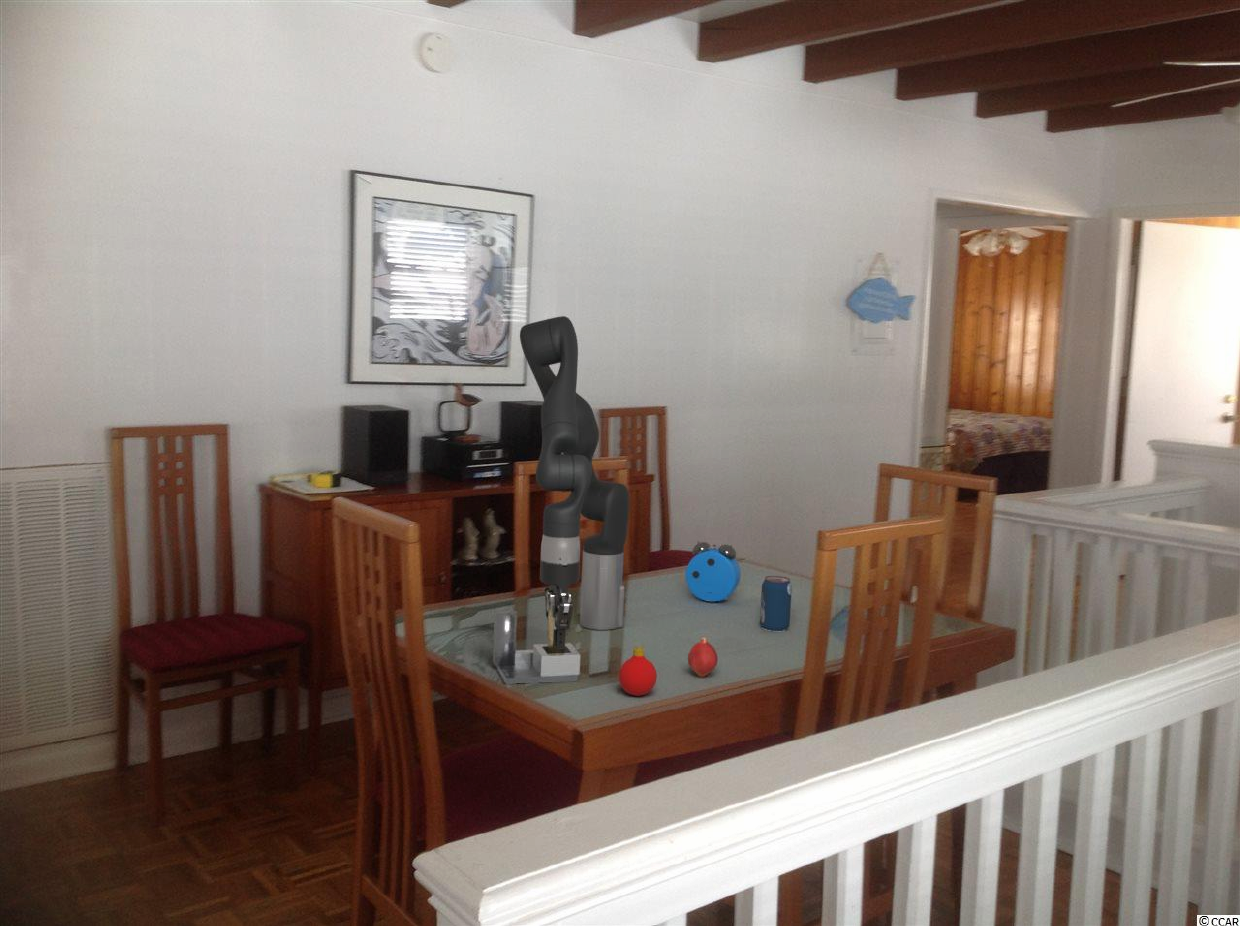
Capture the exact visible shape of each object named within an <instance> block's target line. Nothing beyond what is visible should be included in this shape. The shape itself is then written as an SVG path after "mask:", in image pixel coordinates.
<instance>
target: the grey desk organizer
mask: <svg viewBox="0 0 1240 926" xmlns="http://www.w3.org/2000/svg"><path fill="white" fill-rule="evenodd" d="M493 621H494V622H493V623H494V624H493V647H492V648H493V649H492V650H493V651H492V654H493V655H492V663H493V664H494V667H495V669H496V671H497V672H498V674H499V675H500V678H501V680H503V682H504V684H505V683H506V684H511V683H515V684H514V685H517V684H516V683H532V682H533V683H532V684H537V683H536V682H552V683H569V682H579V676H580V670H581V669H580V668H581V654H580V652H579V651H578V650H577V649H576V648H575V646H574V645H573V644H572V643H571V642H567V643H566V642H565V647H564V653H552V654H548V643H541V644H539V643H538V644H532V649H520V650H519V649H517V632H518V631H517V626H518V623H517V621H518V612H517V611H516V610H512V609H498V610H495V611H494V620H493ZM506 684H505V685H506Z"/></svg>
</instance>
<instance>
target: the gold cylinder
mask: <svg viewBox="0 0 1240 926" xmlns="http://www.w3.org/2000/svg"><path fill="white" fill-rule="evenodd" d="M555 613H558V611H555ZM561 622H563V620H561ZM561 622H560V623H561ZM553 625H554V621H553V617H552V616H551V609H550V610H549V623H548V636H547V638H548V639H547V644H548V654H552V653H564V648H562V649H555V648H554V647H553V632H554V628H553Z"/></svg>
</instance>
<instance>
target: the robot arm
mask: <svg viewBox="0 0 1240 926" xmlns="http://www.w3.org/2000/svg"><path fill="white" fill-rule="evenodd" d="M519 341H520V345H521V349H522V351H523V355H524V357H525V359H526V361H527V364H528V366H529V369H530V371H531V374H532V375H533V377H534V380H535V382H536V384H537V386H538V389H539V391H540V394H541V397H542V398H543V402H542V404H541V408H540V409H541V410H540V424H541V425H540V426H541V438H542V439H541V440H542V441H541V449H540V455H539V458H538V462H537V466H536V470H535V480H536V484H537V485H538V487H539V488H540V489H541V490H543V491H546V492H570V493H569V495H568V497H567V498H566V499H565V500H561V501H557V502H553V503H549V504H547V505H546V506H545V507H544V508H543V523H542V524H543V525H542V539H541V544H540V545H541V546H540V566H539V567H540V568H539V581H541V583H543V584H544V585H547V586H546V587H544V599H545V600H544V601H545V616H546V618H547V623H548V624H549V610H550V609H551V616H552V617H553V621H554V625H553V628H554V632H553V647H554V648H555V649H562V648H564V647H565V643H566V631H567V630H569V629H570V628H571V620H572V615H573V611H574V610H573V608H574V603H573V601H572V595H571V592H570V591H569V587H570V586H574V585H576V584H578V583H579V581H580V580H579V579H580V561H581V560H580V559H581V558H580V557H581V540H580V529H581V516H582V517H584V519H587V520H591V521H597V522H602V528H601V532H599V533H596V534H592V535H589V536H586V537H585V538H584V540H583V543H582V544H583V545H582V566H581V567H582V568H581V569H582V570H581V585H580V586H581V589H580V590H581V591H580V593H581V594H580V608H579V609H580V613H579V625H580V626H581V627H583V628H585V629H589V630H598V631H599V630H600V631H605V630H606V631H607V630H613V629H614V630H615V629H618V628H623V627H624V626H623V625H624V623H623V622H624V606H625V585H623V571H624V569H623V568H624V567H623V566H624V550H625V549H624V548H625V544H626V539H627V535H628V526H629V518H630V517H629V515H630V505H631V501H630V500H631V499H630V493H629V490H628V487H627V486H626V485H625V484H623V483H620V482H615V481H609V480H608V481H607V480H602V479H601V480H600V479H599V478H598V477H597V475H596V473H595V469H594V466H593V458H594V456H595V452H596V449H597V447H598V443H599V441H600V440H599V439H600V430H599V426H598V423H597V420H596V417H595V413H594V411H593V408H592V407H591V405H590V404H589V402H588V401H587V400H586V399H585V398H584V397H582V396H581V395H580V394H579V393H578V392H577V385H578V383H577V381H578V367H579V366H578V362H579V342H578V338H577V332H576V329H575V327H574V324H573V322H572V320H571V319H570V318H569V317H567V316H565V315H562V316H556V317H551V318H546V319H543V320H538V321H534V322H530V323H527V324H524V325H523V326H522V327H521V328H520V331H519ZM557 364H559V369H558V371H557V374H555V373H554V371H553V369H552V368H551V366H553V365H557ZM561 453H562V454H561ZM555 611H558V613H555ZM561 620H563V622H561ZM560 622H561V623H560Z"/></svg>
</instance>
